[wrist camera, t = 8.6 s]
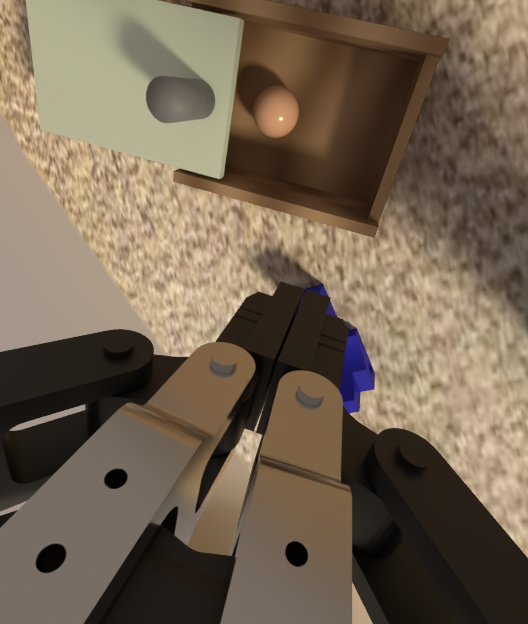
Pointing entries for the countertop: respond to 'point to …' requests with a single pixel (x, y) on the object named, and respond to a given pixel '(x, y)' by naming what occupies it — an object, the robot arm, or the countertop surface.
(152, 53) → the cover plate
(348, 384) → the blue curved stepped block
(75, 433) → the robot arm
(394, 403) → the countertop surface
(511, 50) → the countertop surface
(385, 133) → the walnut box
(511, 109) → the countertop surface
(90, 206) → the countertop surface
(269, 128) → the clay ball
